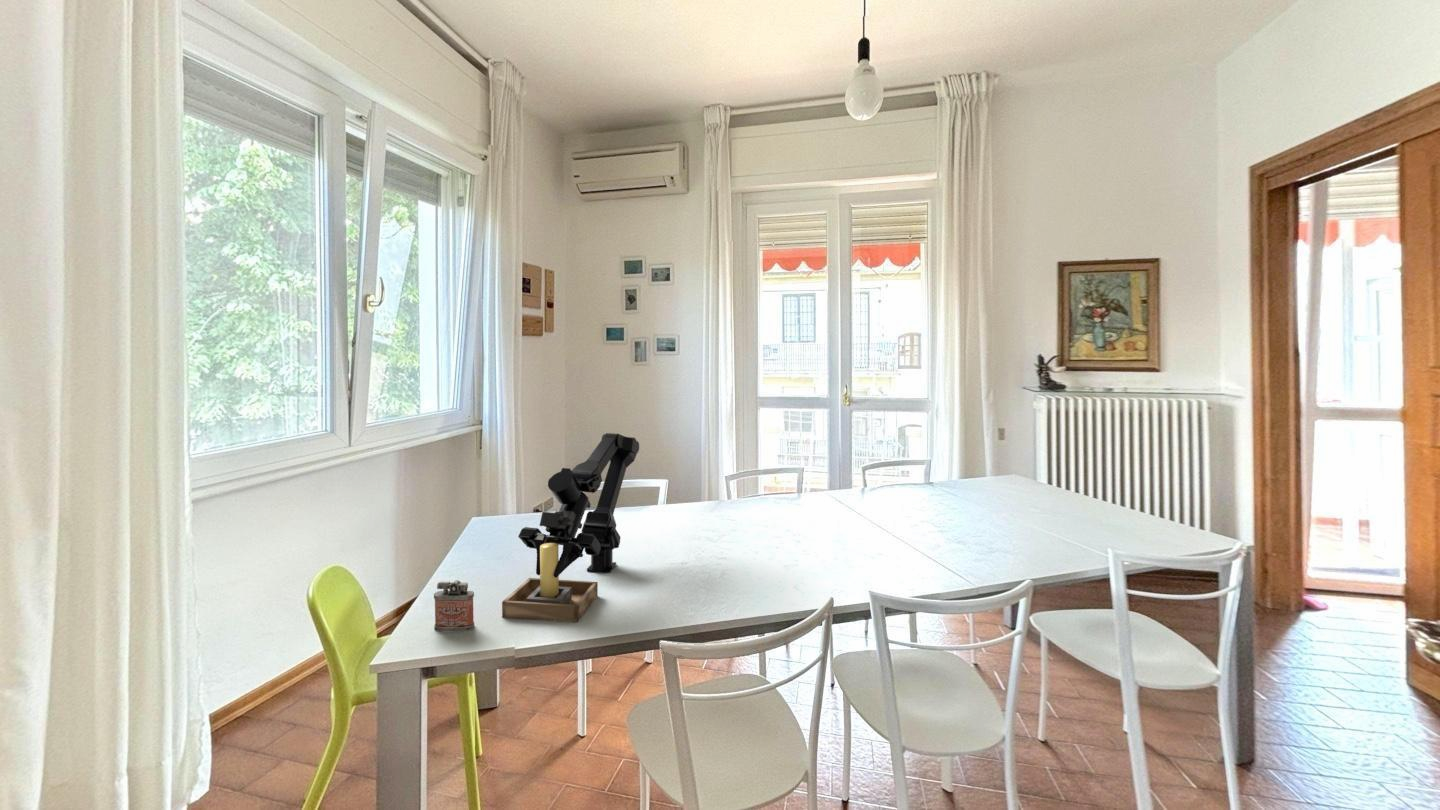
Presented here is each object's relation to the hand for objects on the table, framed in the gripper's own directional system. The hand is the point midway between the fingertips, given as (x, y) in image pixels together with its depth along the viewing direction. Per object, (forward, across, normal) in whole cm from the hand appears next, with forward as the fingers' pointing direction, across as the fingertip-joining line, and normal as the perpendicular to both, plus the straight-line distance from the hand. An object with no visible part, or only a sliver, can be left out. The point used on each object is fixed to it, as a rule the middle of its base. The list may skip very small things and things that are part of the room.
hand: (546, 575), depth 130 cm
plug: (+4, 0, +6) cm, 7 cm away
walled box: (+4, 0, +8) cm, 9 cm away
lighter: (+15, -14, -3) cm, 21 cm away
